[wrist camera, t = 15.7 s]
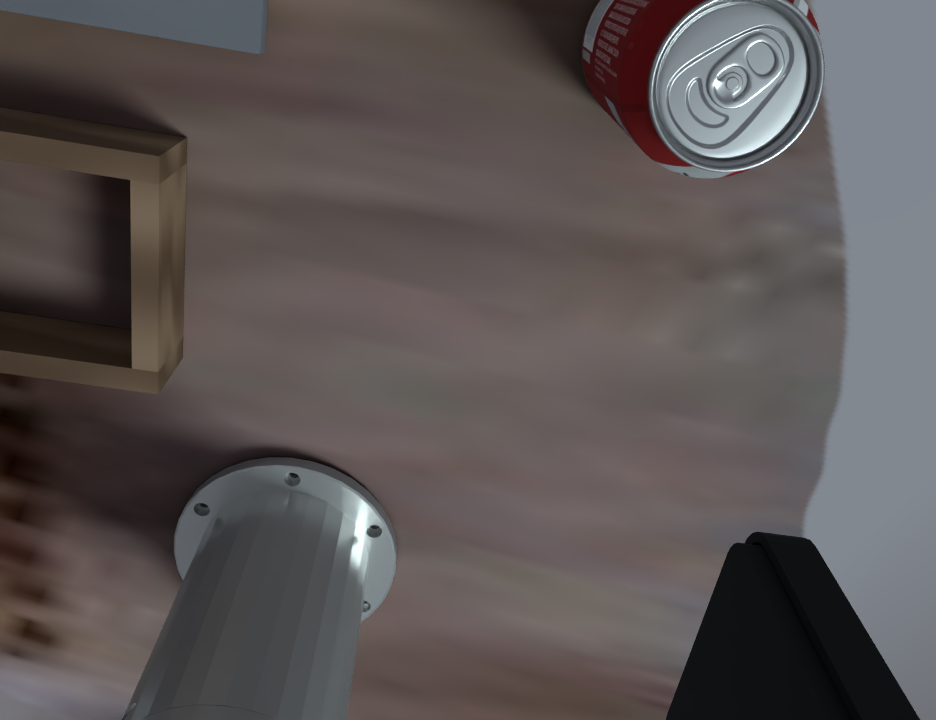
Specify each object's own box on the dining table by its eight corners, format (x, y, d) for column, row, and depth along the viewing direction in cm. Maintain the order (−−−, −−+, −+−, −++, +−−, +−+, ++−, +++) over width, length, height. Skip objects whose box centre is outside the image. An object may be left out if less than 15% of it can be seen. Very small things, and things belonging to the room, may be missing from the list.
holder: (182, 357, 44) (157, 394, 40) (-46, 325, 43) (-92, 360, 39) (187, 137, 39) (159, 156, 35) (-71, 95, 38) (-126, 110, 34)
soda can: (548, 40, 37) (585, 76, 26) (673, -75, 35) (769, -87, 24) (639, 155, 39) (709, 232, 28) (762, 53, 37) (885, 94, 27)
